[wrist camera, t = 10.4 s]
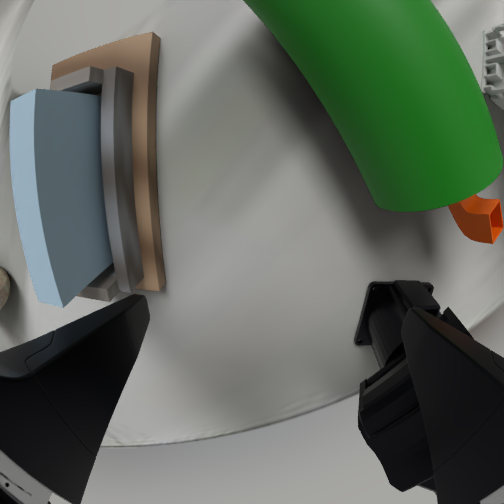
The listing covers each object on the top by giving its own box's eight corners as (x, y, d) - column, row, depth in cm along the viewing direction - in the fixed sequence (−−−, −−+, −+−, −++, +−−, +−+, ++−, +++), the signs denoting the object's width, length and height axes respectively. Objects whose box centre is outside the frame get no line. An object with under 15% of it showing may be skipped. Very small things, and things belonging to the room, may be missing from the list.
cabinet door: (123, 253, 20) (63, 307, 13) (92, 251, 20) (31, 299, 13) (114, 98, 16) (35, 88, 8) (81, 106, 16) (4, 105, 8)
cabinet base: (165, 282, 23) (139, 320, 17) (77, 272, 23) (44, 300, 18) (160, 37, 15) (126, 13, 10) (63, 67, 15) (21, 60, 10)
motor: (236, 16, 13) (378, 246, 20) (237, -64, 5) (450, 302, 11) (346, -20, 12) (461, 186, 18) (393, -77, 4) (538, 210, 10)
